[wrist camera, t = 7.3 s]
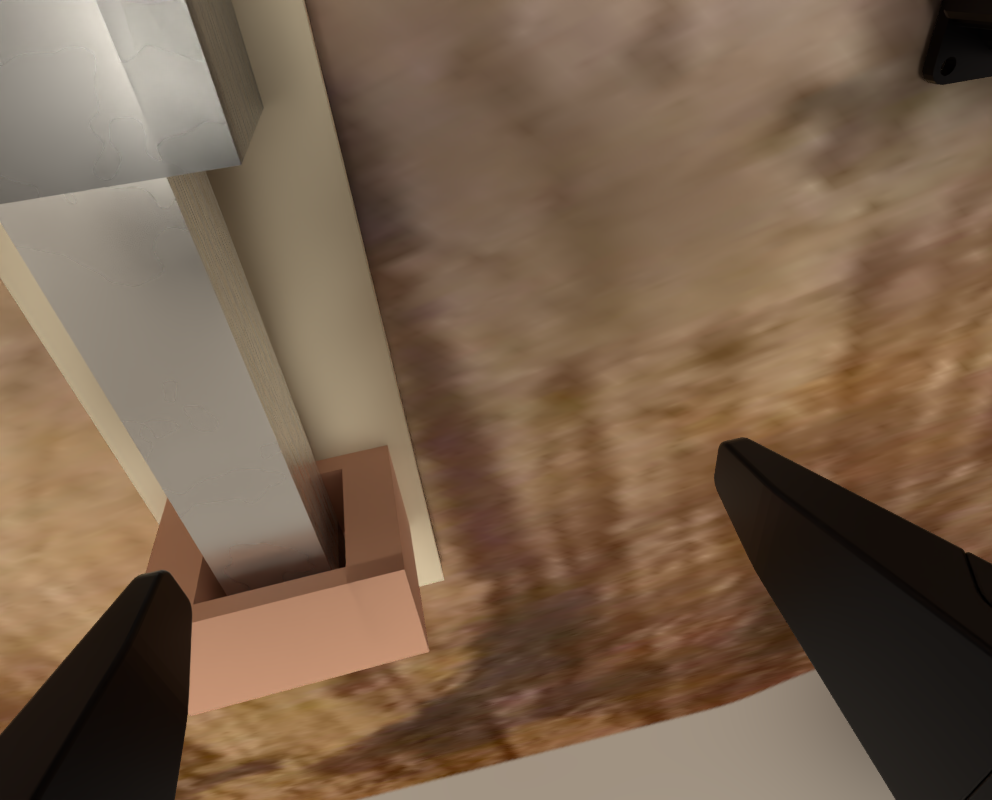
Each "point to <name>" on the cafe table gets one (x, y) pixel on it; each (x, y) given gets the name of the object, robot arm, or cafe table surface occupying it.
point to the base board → (283, 277)
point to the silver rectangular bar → (186, 368)
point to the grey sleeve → (120, 93)
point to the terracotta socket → (305, 597)
